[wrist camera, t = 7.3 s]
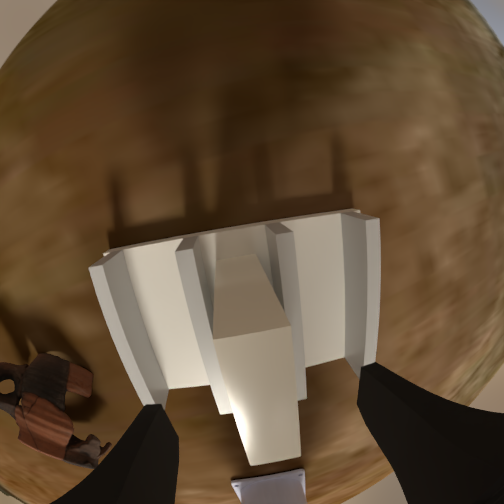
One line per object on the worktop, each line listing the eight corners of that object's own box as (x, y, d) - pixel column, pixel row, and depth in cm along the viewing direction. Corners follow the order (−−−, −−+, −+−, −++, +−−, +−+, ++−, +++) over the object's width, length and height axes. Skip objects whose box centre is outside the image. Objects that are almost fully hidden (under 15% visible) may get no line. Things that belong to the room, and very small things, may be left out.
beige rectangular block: (270, 357, 17) (301, 456, 9) (237, 363, 17) (250, 465, 9) (255, 253, 15) (290, 325, 8) (215, 260, 15) (212, 339, 7)
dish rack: (355, 345, 19) (379, 376, 15) (154, 381, 18) (143, 419, 14) (352, 208, 16) (387, 217, 12) (109, 249, 15) (80, 269, 11)
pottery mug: (130, 380, 18) (120, 479, 12) (105, 396, 23) (96, 465, 17) (-6, 315, 13) (-36, 414, 7) (5, 349, 18) (-13, 420, 12)
